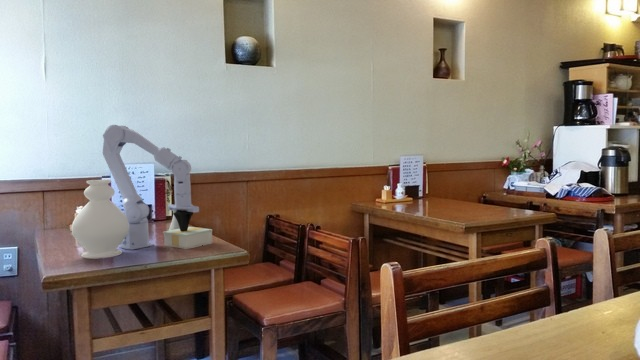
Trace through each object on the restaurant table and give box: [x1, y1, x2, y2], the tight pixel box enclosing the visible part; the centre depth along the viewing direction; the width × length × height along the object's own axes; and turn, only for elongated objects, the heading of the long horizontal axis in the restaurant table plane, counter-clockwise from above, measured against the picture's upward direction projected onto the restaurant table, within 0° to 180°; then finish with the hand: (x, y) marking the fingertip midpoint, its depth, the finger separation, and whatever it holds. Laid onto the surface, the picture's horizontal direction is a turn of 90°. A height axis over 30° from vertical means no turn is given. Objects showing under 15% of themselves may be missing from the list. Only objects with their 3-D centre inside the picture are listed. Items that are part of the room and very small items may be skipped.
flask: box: [168, 210, 180, 231], centre depth 215 cm, size 7×7×10 cm
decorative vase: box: [71, 179, 129, 260], centre depth 174 cm, size 18×18×25 cm
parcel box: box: [163, 230, 213, 250], centre depth 190 cm, size 12×12×4 cm
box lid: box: [162, 226, 213, 237], centre depth 190 cm, size 12×12×1 cm
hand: (183, 231), depth 189 cm, fingers closed
